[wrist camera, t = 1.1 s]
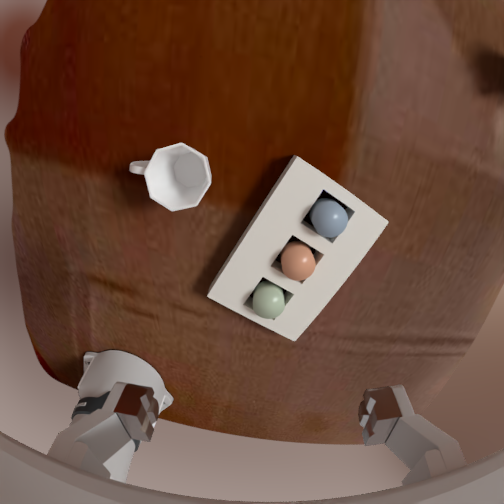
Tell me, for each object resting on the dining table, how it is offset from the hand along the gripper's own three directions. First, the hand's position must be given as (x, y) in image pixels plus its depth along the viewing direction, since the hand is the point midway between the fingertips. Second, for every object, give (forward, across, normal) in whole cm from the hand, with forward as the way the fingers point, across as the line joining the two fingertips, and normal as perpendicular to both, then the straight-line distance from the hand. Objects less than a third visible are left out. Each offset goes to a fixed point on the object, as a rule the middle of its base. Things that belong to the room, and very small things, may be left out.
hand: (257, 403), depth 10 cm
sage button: (+28, 0, +12) cm, 30 cm away
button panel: (+30, -4, +6) cm, 30 cm away
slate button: (+28, -7, +1) cm, 29 cm away
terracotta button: (+28, -4, +6) cm, 29 cm away
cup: (+30, +10, -5) cm, 32 cm away
